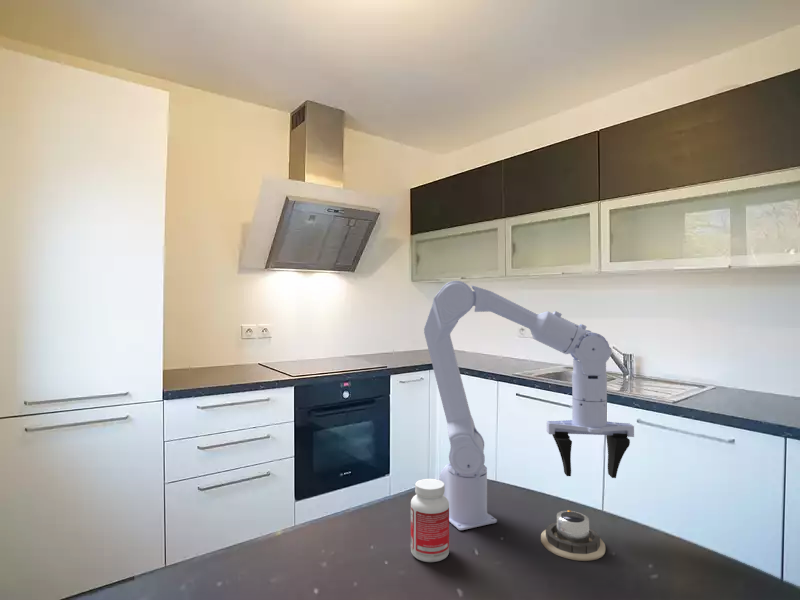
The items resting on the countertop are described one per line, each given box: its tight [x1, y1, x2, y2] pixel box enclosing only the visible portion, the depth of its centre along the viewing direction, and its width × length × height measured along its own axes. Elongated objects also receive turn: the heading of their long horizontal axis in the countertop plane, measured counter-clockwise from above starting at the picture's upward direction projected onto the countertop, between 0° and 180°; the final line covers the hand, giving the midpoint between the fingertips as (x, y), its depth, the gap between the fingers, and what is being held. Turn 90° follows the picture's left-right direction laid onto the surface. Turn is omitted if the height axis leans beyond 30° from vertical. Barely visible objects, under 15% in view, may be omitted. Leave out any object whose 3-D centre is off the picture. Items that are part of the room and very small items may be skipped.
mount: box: [540, 521, 606, 562], centre depth 76 cm, size 10×10×2 cm
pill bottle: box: [410, 478, 450, 563], centre depth 74 cm, size 6×6×11 cm
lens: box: [556, 509, 590, 544], centre depth 76 cm, size 5×5×4 cm
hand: (589, 475), depth 82 cm, fingers open, 7 cm apart
